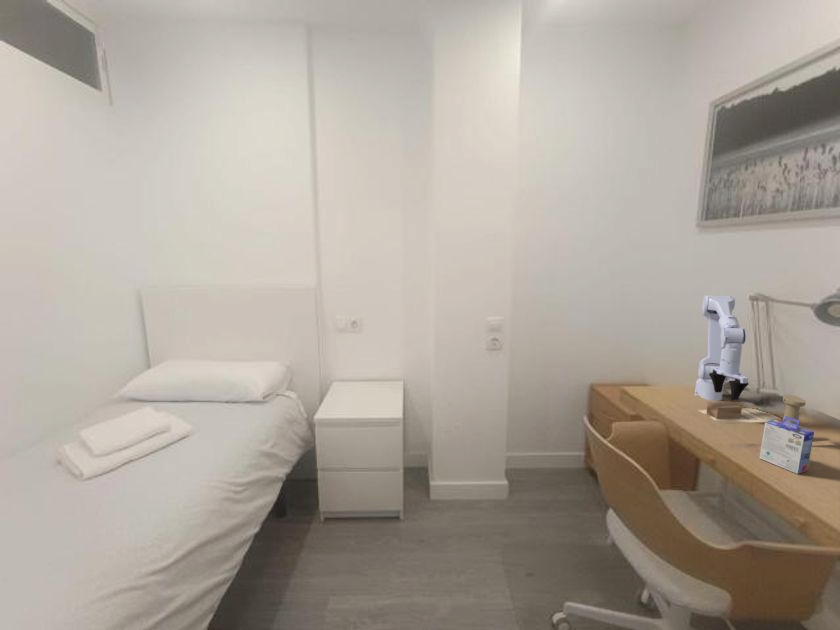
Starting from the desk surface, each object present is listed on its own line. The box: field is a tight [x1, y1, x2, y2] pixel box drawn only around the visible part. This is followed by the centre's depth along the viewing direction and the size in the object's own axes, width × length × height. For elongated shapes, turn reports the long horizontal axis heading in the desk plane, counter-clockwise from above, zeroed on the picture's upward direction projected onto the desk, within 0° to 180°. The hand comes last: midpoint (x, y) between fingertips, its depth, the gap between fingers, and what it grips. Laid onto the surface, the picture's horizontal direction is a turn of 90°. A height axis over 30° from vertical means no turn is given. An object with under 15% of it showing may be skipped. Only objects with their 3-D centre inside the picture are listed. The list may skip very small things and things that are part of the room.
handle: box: [782, 394, 807, 424], centre depth 131 cm, size 5×6×15 cm
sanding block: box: [706, 401, 743, 419], centre depth 148 cm, size 5×9×4 cm, turn 92°
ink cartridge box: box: [759, 416, 815, 475], centre depth 118 cm, size 10×6×14 cm, turn 24°
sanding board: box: [697, 407, 783, 425], centre depth 149 cm, size 16×28×2 cm, turn 92°
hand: (726, 395), depth 147 cm, fingers open, 7 cm apart
